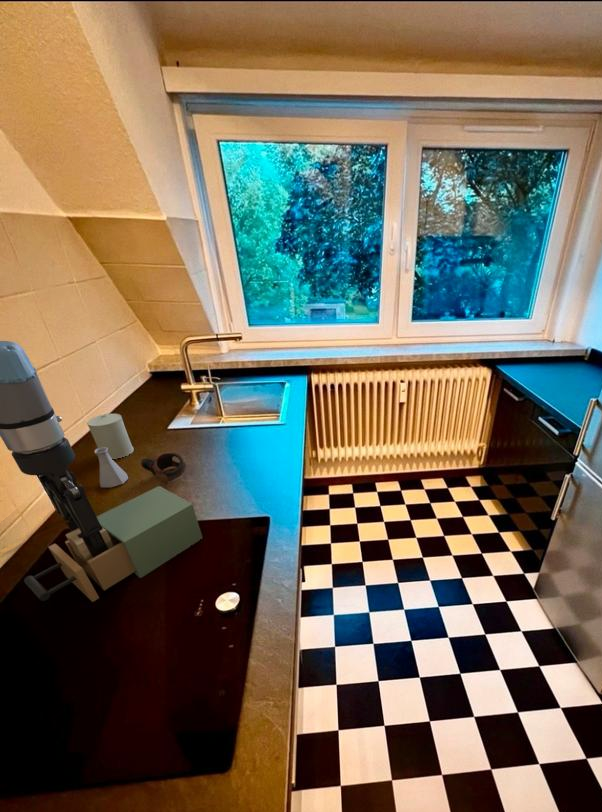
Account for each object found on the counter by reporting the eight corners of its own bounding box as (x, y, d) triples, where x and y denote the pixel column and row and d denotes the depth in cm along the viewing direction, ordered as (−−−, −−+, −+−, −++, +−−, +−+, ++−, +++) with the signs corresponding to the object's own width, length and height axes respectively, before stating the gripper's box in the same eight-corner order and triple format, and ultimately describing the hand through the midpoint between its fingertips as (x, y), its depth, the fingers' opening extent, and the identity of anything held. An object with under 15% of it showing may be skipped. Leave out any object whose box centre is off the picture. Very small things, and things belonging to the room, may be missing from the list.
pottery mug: (191, 465, 116) (188, 450, 109) (184, 493, 111) (182, 478, 104) (146, 460, 112) (141, 444, 106) (138, 488, 107) (132, 473, 101)
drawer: (58, 624, 67) (37, 593, 63) (32, 594, 73) (11, 565, 69) (160, 559, 80) (149, 530, 76) (132, 538, 86) (119, 510, 82)
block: (115, 549, 75) (106, 529, 72) (88, 565, 72) (77, 545, 69) (103, 539, 78) (93, 520, 75) (76, 554, 74) (65, 534, 71)
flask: (103, 476, 110) (89, 445, 105) (131, 472, 112) (118, 441, 106) (96, 490, 104) (81, 458, 99) (126, 485, 106) (113, 453, 100)
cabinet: (140, 578, 77) (124, 542, 72) (109, 553, 83) (92, 518, 78) (202, 538, 87) (192, 504, 82) (171, 518, 93) (159, 485, 88)
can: (133, 443, 127) (120, 409, 121) (134, 455, 120) (121, 419, 114) (101, 450, 123) (86, 415, 117) (101, 463, 117) (85, 426, 110)
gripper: (90, 449, 60) (139, 558, 73) (42, 422, 69) (93, 524, 81) (34, 470, 55) (97, 583, 67) (-10, 438, 64) (53, 544, 76)
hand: (95, 551), depth 74 cm, fingers closed on block, 5 cm apart
